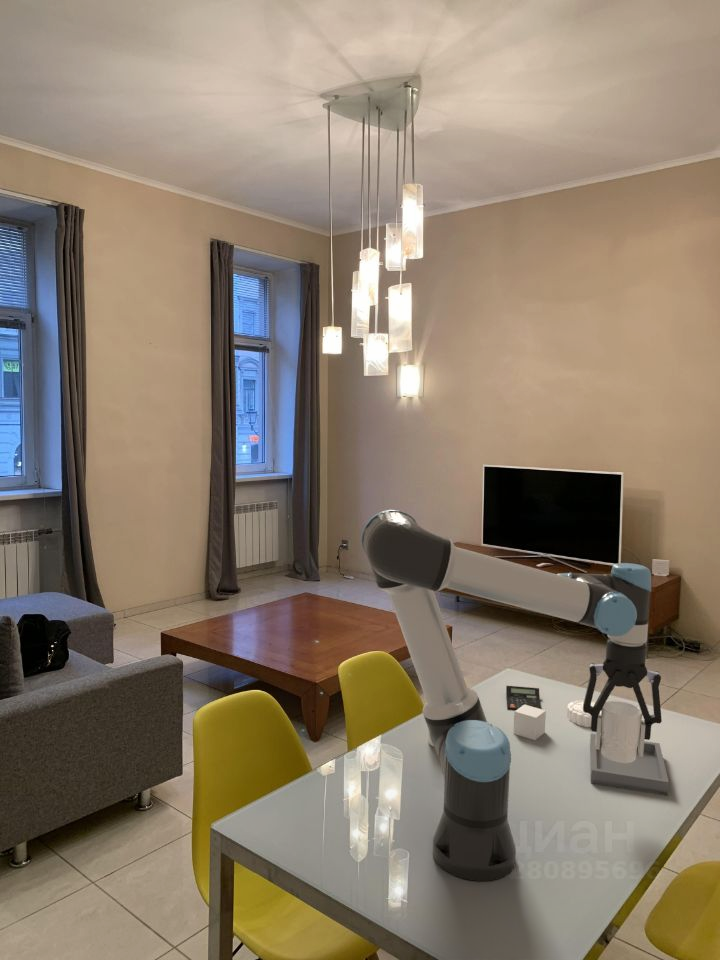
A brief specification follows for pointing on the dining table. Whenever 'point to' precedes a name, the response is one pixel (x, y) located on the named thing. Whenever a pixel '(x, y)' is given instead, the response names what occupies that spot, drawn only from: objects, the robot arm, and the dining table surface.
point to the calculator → (522, 697)
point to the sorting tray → (630, 770)
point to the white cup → (620, 731)
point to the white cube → (529, 722)
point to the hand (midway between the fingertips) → (618, 749)
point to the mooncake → (579, 713)
